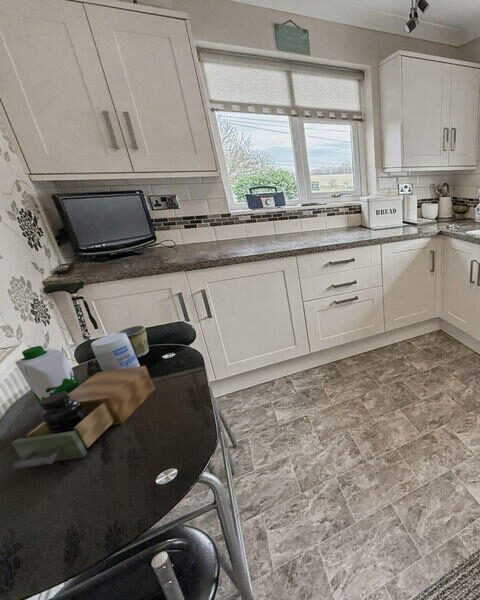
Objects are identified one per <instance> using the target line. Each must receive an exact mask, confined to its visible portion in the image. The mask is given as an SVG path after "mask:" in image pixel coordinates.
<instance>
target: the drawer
mask: <svg viewBox="0 0 480 600" xmlns="http://www.w3.org/2000/svg"><path fill="white" fill-rule="evenodd" d="M81 406H82V408H83V409H84V411H85V413H86V415H87V417H85V418H84V419H83V420H82V421H81V422H80V423H79V424H78V425H76V426H75V427H74V428H73V429H74V431H70V432H63V433H56V434H52V433H51V432H50V430H49V428H48V427H47V425H46V424H45V422H44V421H43V422H41V423H40V424H39V425H38V426H36V427H35V428H34V429H33V430H31V431H30V432H29V433H27V434H26V436H27V437H23V438H17V439H15V440H14V441H12V442H11V445H12V446H13V448H14V449H15V451H16V452H17V454H18V455H19V457H20V459H21V460H18V461H15V463H14V464H13V469H15V470H19V469H20V470H21V469H25V468H26V469H27V468H33V467H39V466H45V465H52V464H53V463H54V462H59V461H67V460H73V459H81V458H84V457H86V455H87V454H88V452H87V450H86V449H88V448H89V447H91V446H92V445H93V443H95V441H97V439H99V438H100V437H101V435H102V434H104V432H105V431H106V430H108V428H109V427H110V425H111V424H112V423H113V422H114V421H115V420H116V418H115V416H114V414H113V412H112V410H111V408H110V406H109V404H108V402H107V401H102V402H95V403H87V404H81ZM111 426H112V425H111Z"/></svg>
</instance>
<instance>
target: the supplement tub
mask: <svg viewBox="0 0 480 600" xmlns="http://www.w3.org/2000/svg"><path fill="white" fill-rule="evenodd" d="M115 333H116V332H115ZM115 333H112V334H108V335H104V336H102V337H99V338H96V339H95V340H93V341H92V342H91V343H90V347H91V350H92V352H93V354H94V356H95V360H96V361H97V362H98V365H99V368H100V370H101V372H102V371H109V370H117V369H124V368H132V367H139V366H141V365H140V363H139V360H138V358H136V355H135V353H134V350H133V348H132V346H131V343H130V341H129V339H128V337H127V335H126V334H125V333H116V334H115Z"/></svg>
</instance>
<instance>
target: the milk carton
mask: <svg viewBox="0 0 480 600" xmlns="http://www.w3.org/2000/svg"><path fill="white" fill-rule="evenodd" d="M21 355H22V356H23V358H20V359H19V360H15V361H14V363H15V365H16V366H17V368H18V370H19V371H20V373H21V375H22V376H23V378H24V380H25V382H26V384H27V385H28V387H29V389H30V390H31V392H32V394H33V395H34V397H35V399H36V400H37V403H39V405H40V406H41V404H40V402H41V401H42V400H43V399H45V398H46V397H48V396H50V395H52V394H55V393H59V392H67V393H68V394H69V393H70V392H72V391H73V390H74V389H76V388H77V387H78V386H80V385H81V384H80V382H79V380H78V378H77V376H76V374H75V373H74V371H73V368H72V367H71V365H70V363H69V361H68V359H67V355H66V353H65V351H64V350H60V349H54V348H47V349H45V348H44V347H43V346H42V345H37V346H33V347H32V346H31V347H29V348H26V349H24V350H22V352H21Z"/></svg>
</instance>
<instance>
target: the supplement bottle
mask: <svg viewBox="0 0 480 600" xmlns="http://www.w3.org/2000/svg"><path fill="white" fill-rule="evenodd" d="M40 404H41V405H40ZM40 404H39V405H40V406H41V408H42V409H43V412H42V414H41V419H42V421H43V422H45V424H46V425H47V427H48V428H49V430H50V432H51V433H52V434H56V433H63V432H70V431H74V429H73V428H74V427H75V426H76V425H78V424H79V423H80V422H81V421H82V420H83V419H84V418H85V417H87V415H86V413H85V411H84V409H83V408H82V406H81V404H80V403H79V401H77V400H74V399H71V398H70V396H69V395H68V393H67V392H59V393H55V394H52V395H50V396H48V397H46V398H45V399H43V400H42V401H41V402H40Z"/></svg>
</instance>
